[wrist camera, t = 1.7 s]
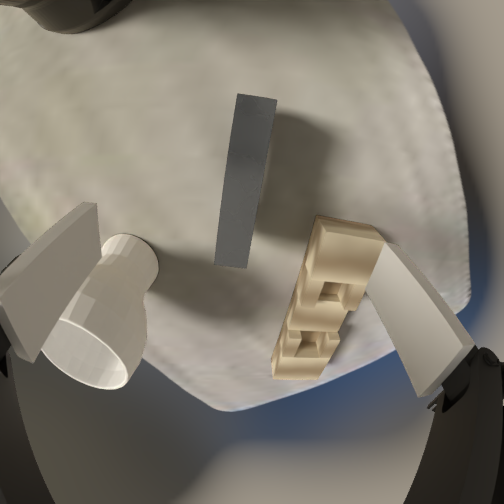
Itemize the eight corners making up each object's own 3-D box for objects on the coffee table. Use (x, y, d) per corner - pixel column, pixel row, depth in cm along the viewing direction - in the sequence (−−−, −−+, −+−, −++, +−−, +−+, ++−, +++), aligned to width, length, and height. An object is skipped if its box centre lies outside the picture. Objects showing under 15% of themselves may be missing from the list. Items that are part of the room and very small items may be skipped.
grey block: (239, 98, 22) (237, 93, 15) (267, 102, 22) (277, 99, 15) (221, 223, 29) (214, 264, 22) (245, 226, 29) (246, 268, 22)
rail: (316, 215, 28) (326, 231, 25) (371, 225, 29) (386, 241, 26) (271, 358, 40) (273, 379, 37) (312, 360, 41) (317, 379, 37)
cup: (184, 249, 30) (150, 355, 17) (153, 308, 34) (122, 404, 21) (104, 206, 27) (25, 286, 14) (85, 272, 31) (31, 356, 18)
